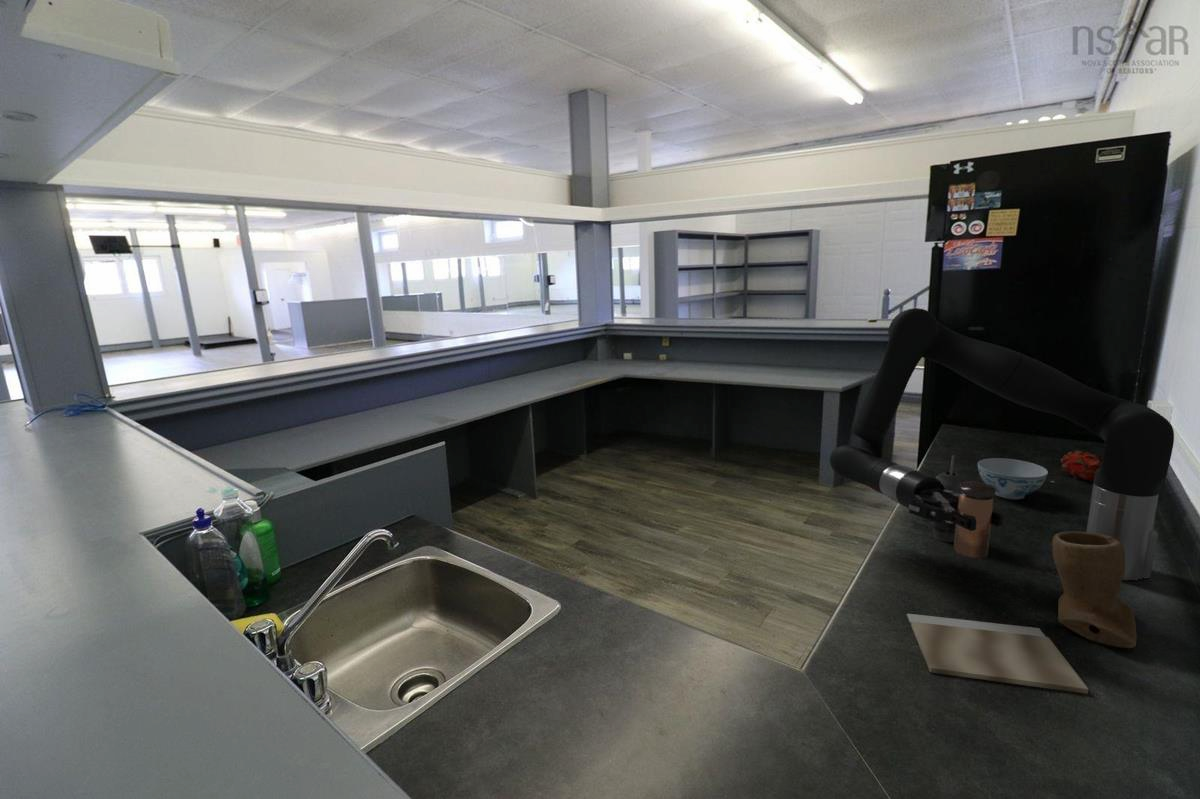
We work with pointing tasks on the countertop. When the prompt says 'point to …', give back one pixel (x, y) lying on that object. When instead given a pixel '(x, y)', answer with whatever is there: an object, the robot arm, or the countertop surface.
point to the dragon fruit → (1081, 464)
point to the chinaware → (1012, 476)
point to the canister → (979, 506)
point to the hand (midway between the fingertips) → (987, 522)
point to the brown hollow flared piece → (1093, 588)
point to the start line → (975, 625)
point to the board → (996, 657)
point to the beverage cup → (951, 483)
